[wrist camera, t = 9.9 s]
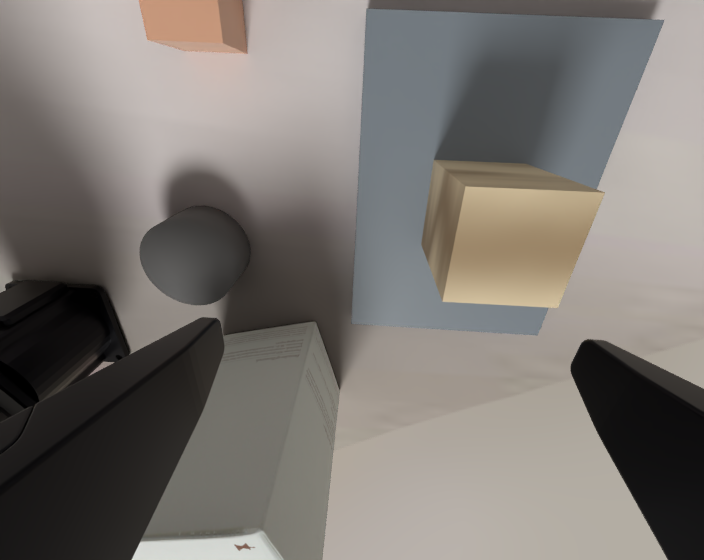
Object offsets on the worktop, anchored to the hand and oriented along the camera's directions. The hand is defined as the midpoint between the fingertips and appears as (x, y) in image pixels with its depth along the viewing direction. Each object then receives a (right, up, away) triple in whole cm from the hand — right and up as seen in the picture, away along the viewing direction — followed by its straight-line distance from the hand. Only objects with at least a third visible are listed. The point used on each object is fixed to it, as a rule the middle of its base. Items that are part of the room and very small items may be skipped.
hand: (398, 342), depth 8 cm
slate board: (+5, +6, +10) cm, 12 cm away
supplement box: (-6, -5, +16) cm, 18 cm away
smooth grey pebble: (-10, +4, +12) cm, 16 cm away
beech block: (+5, +5, +9) cm, 12 cm away
